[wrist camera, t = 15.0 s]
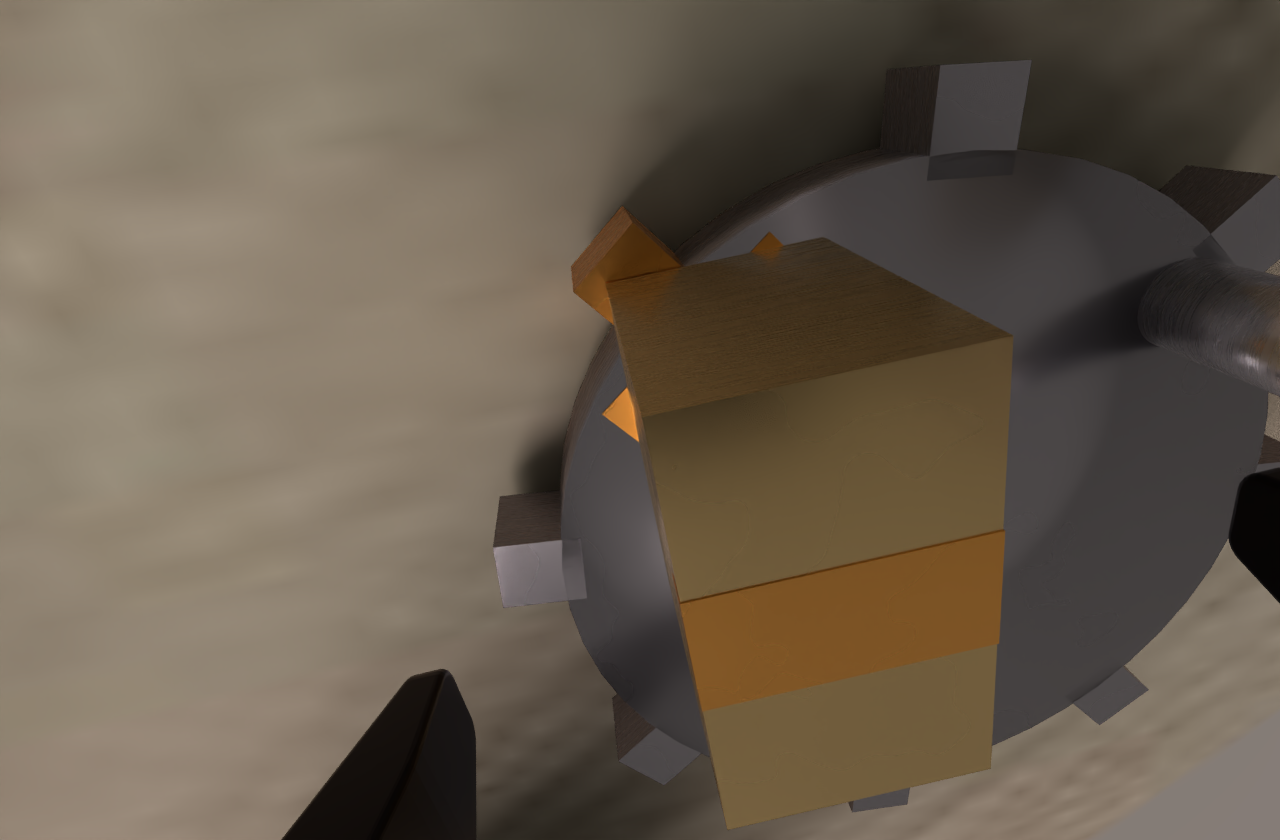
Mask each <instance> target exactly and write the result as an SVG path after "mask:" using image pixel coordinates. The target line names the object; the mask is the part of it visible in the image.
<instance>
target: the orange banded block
mask: <svg viewBox="0 0 1280 840" xmlns="http://www.w3.org/2000/svg"><path fill="white" fill-rule="evenodd" d="M605 285H606V289H607V294H608V299H609V304H610V308H611V313H612V318H613V322H614V327H615V332H616V336H617V341H618V346H619V351H620V355H621V360H622V365H623V369H624V374H625V379H626V383H627V388H628V393H629V397H630V402H631V407H632V412H633V416H634V421H635V426H636V430H637V435H638V440H639V444H640V449H641V454H642V458H643V463H644V468H645V473H646V477H647V482H648V487H649V491H650V496H651V501H652V505H653V510H654V515H655V519H656V524H657V529H658V534H659V538H660V543H661V548H662V552H663V557H664V562H665V566H666V571H667V576H668V581H669V585H670V589H671V594H672V598H673V602H674V606H675V610H676V615H677V619H678V623H679V627H680V632H681V636H682V640H683V644H684V649H685V653H686V657H687V661H688V665H689V670H690V674H691V678H692V682H693V687H694V691H695V695H696V699H697V703H698V708H699V712H700V716H701V720H702V725H703V729H704V733H705V737H706V742H707V746H708V750H709V754H710V758H711V763H712V767H713V771H714V775H715V780H716V784H717V788H718V792H719V797H720V801H721V805H722V809H723V813H724V818H725V822H726V826H727V830H730V829H734V828H738V827H743V826H747V825H751V824H756V823H760V822H764V821H768V820H773V819H777V818H781V817H786V816H790V815H794V814H798V813H803V812H807V811H811V810H816V809H820V808H824V807H828V806H833V805H837V804H841V803H846V802H850V801H854V800H859V799H863V798H867V797H871V796H876V795H880V794H884V793H889V792H893V791H897V790H901V789H906V788H910V787H914V786H919V785H923V784H927V783H931V782H936V781H940V780H944V779H949V778H953V777H957V776H962V775H966V774H970V773H974V772H979V771H983V770H987V769H991V753H992V734H993V715H994V696H995V677H996V658H997V644H999V637H1000V619H1001V600H1002V582H1003V564H1004V545H1005V530H1004V529H1003V525H1004V506H1005V487H1006V469H1007V450H1008V431H1009V412H1010V393H1011V374H1012V355H1013V335H1011V334H1010V333H1008V332H1006V331H1004V330H1002V329H1000V328H998V327H996V326H994V325H992V324H990V323H988V322H986V321H985V320H983V319H981V318H979V317H977V316H975V315H973V314H971V313H969V312H967V311H965V310H963V309H961V308H960V307H958V306H956V305H954V304H952V303H950V302H948V301H946V300H944V299H942V298H940V297H938V296H936V295H935V294H933V293H931V292H929V291H927V290H925V289H923V288H921V287H919V286H917V285H915V284H913V283H911V282H910V281H908V280H906V279H904V278H902V277H900V276H898V275H896V274H894V273H892V272H890V271H888V270H886V269H885V268H883V267H881V266H879V265H877V264H875V263H873V262H871V261H869V260H867V259H865V258H863V257H861V256H860V255H858V254H856V253H854V252H852V251H850V250H848V249H846V248H844V247H842V246H840V245H838V244H836V243H834V242H833V241H831V240H829V239H827V238H825V237H820V238H815V239H810V240H806V241H801V242H796V243H792V244H787V245H782V246H778V247H773V248H769V249H764V250H759V251H755V252H750V253H745V254H741V255H736V256H731V257H727V258H722V259H717V260H713V261H708V262H703V263H699V264H694V265H690V266H685V267H680V268H676V269H671V270H666V271H662V272H657V273H652V274H648V275H643V276H638V277H634V278H629V279H624V280H620V281H615V282H611V283H606V284H605Z"/></svg>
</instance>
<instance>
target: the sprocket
mask: <svg viewBox="0 0 1280 840" xmlns="http://www.w3.org/2000/svg"><path fill="white" fill-rule="evenodd" d="M1031 62H1032V60H1020V61H1002V62H985V63H968V64H950V65H935V66H923V67H911V68H898V69H887V73H886V84H885V95H884V106H883V118H882V129H881V140H880V148H879V149H872V150H866V151H863V152H859V153H856V154H852V155H848V156H845V157H841V158H838V159H834V160H831V161H827V162H824V163H820V164H817V165H815V166H812V167H810V168H808V169H805V170H803V171H801V172H798V173H796V174H794V175H791V176H789V177H787V178H784V179H782V180H780V181H777V182H775V183H773V184H770V185H768V186H767V187H765V188H763V189H762V190H760V191H758V192H757V193H755V194H753V195H751V196H750V197H748V198H746V199H745V200H743V201H741V202H740V203H738V204H736V205H735V206H733V207H731V208H729V209H728V210H726V211H724V212H723V213H722V214H720V215H719V216H718V217H716V218H715V219H714V220H713V221H711V222H710V223H709V224H707V225H706V226H705V227H704V228H702V229H701V230H700V231H698V232H697V233H696V234H694V235H693V236H692V237H691V238H689V239H688V240H687V241H685V242H684V243H683V244H682V245H681V246H680V247H679V248H678V249H677V250H676V251H675V252H672V251H671V250H670V249H669V248H668V247H667V246H666V245H665V244H664V243H663V242H661V241H660V240H659V239H658V238H657V237H656V236H655V235H654V234H653V233H652V232H650V231H649V230H648V229H647V228H646V227H645V226H644V225H643V224H642V223H641V222H639V221H638V220H637V219H636V218H635V217H634V216H633V215H632V214H631V213H630V212H629V211H627V210H626V209H625V208H624V207H623V206H622V207H621V208H620V209H619V210H618V211H617V213H616V214H615V215H614V216H613V217H612V218H611V220H610V221H609V222H608V223H607V224H606V226H605V227H604V228H603V229H602V230H601V232H600V233H599V234H598V235H597V236H596V237H595V239H594V240H593V241H592V242H591V243H590V245H589V246H588V247H587V248H586V249H585V251H584V252H583V253H582V254H581V255H580V256H579V258H578V259H577V260H576V261H575V262H574V264H573V265H572V266H571V272H572V282H573V292H574V293H575V294H577V295H578V296H579V297H580V298H581V299H583V300H584V301H585V302H586V303H588V304H589V305H590V306H591V307H592V308H594V309H595V310H596V311H597V312H598V313H600V314H601V315H602V316H603V317H605V318H606V319H607V320H608V321H609V322H611V323H612V324H613V325H612V326H611V328H610V330H609V332H608V333H607V335H606V337H605V338H604V340H603V342H602V344H601V345H600V347H599V349H598V350H597V352H596V354H595V356H594V357H593V359H592V361H591V363H590V366H589V368H588V371H587V373H586V375H585V378H584V380H583V383H582V385H581V387H580V390H579V392H578V395H577V397H576V399H575V402H574V406H573V410H572V414H571V418H570V422H569V425H568V429H567V433H566V437H565V441H564V449H563V458H562V467H561V476H560V490H558V491H548V492H539V493H529V494H519V495H510V496H500V500H499V507H498V514H497V522H496V529H495V537H494V544H493V550H494V556H495V562H496V568H497V573H498V579H499V585H500V591H501V596H502V602H503V608H507V607H516V606H524V605H533V604H542V603H550V602H559V601H569V605H570V610H571V612H572V615H573V617H574V620H575V623H576V625H577V628H578V630H579V633H580V636H581V638H582V641H583V643H584V645H585V647H586V648H587V650H588V652H589V654H590V655H591V657H592V659H593V660H594V662H595V664H596V665H597V667H598V669H599V671H600V672H601V674H602V675H603V676H604V678H605V679H606V680H607V681H608V682H609V684H610V685H611V686H612V687H613V688H614V690H615V691H616V692H617V694H616V695H615V696H614V697H613V698H612V701H613V711H614V721H615V732H616V742H617V752H618V761H619V762H621V763H623V764H625V765H627V766H628V767H630V768H632V769H634V770H636V771H638V772H640V773H642V774H644V775H646V776H647V777H649V778H651V779H653V780H655V781H657V782H659V783H661V784H663V785H665V784H666V783H668V782H669V781H670V780H671V779H672V778H673V777H675V776H676V775H677V774H678V773H679V772H680V771H682V770H683V769H684V768H685V767H686V766H687V765H689V764H690V763H691V762H692V761H693V760H694V759H696V758H697V757H698V756H699V755H700V754H701V753H702V754H704V755H706V756H708V757H710V754H709V750H708V746H707V742H706V737H705V733H704V729H703V725H702V720H701V716H700V712H699V708H698V703H697V699H696V695H695V691H694V687H693V682H692V678H691V674H690V670H689V665H688V661H687V657H686V653H685V649H684V644H683V640H682V636H681V632H680V627H679V623H678V619H677V615H676V610H675V606H674V602H673V598H672V594H671V589H670V585H669V581H668V576H667V571H666V566H665V562H664V557H663V552H662V548H661V543H660V538H659V534H658V529H657V524H656V519H655V515H654V510H653V505H652V501H651V496H650V491H649V487H648V482H647V477H646V473H645V468H644V463H643V458H642V454H641V449H640V444H639V440H638V435H637V430H636V426H635V421H634V416H633V412H632V407H631V402H630V397H629V393H628V388H627V383H626V379H625V374H624V369H623V365H622V360H621V355H620V351H619V346H618V341H617V336H616V332H615V327H614V322H613V318H612V313H611V308H610V304H609V299H608V294H607V289H606V285H605V284H606V283H611V282H615V281H620V280H624V279H629V278H634V277H638V276H643V275H648V274H652V273H657V272H662V271H666V270H671V269H676V268H680V267H685V266H690V265H694V264H699V263H703V262H708V261H713V260H717V259H722V258H727V257H731V256H736V255H741V254H745V253H750V252H755V251H759V250H764V249H769V248H773V247H778V246H782V245H787V244H792V243H796V242H801V241H806V240H810V239H815V238H820V237H825V238H827V239H829V240H831V241H833V242H834V243H836V244H838V245H840V246H842V247H844V248H846V249H848V250H850V251H852V252H854V253H856V254H858V255H860V256H861V257H863V258H865V259H867V260H869V261H871V262H873V263H875V264H877V265H879V266H881V267H883V268H885V269H886V270H888V271H890V272H892V273H894V274H896V275H898V276H900V277H902V278H904V279H906V280H908V281H910V282H911V283H913V284H915V285H917V286H919V287H921V288H923V289H925V290H927V291H929V292H931V293H933V294H935V295H936V296H938V297H940V298H942V299H944V300H946V301H948V302H950V303H952V304H954V305H956V306H958V307H960V308H961V309H963V310H965V311H967V312H969V313H971V314H973V315H975V316H977V317H979V318H981V319H983V320H985V321H986V322H988V323H990V324H992V325H994V326H996V327H998V328H1000V329H1002V330H1004V331H1006V332H1008V333H1010V334H1011V335H1013V355H1012V374H1011V393H1010V412H1009V431H1008V450H1007V469H1006V487H1005V506H1004V525H1003V529H1004V530H1005V545H1004V564H1003V582H1002V600H1001V619H1000V637H999V644H997V658H996V677H995V696H994V715H993V734H992V745H995V744H997V743H999V742H1002V741H1004V740H1006V739H1008V738H1010V737H1012V736H1015V735H1017V734H1019V733H1021V732H1023V731H1025V730H1027V729H1030V728H1032V727H1033V726H1035V725H1037V724H1039V723H1040V722H1042V721H1044V720H1046V719H1047V718H1049V717H1051V716H1053V715H1055V714H1056V713H1058V712H1060V711H1062V710H1063V709H1065V708H1067V707H1068V706H1070V705H1071V704H1074V705H1076V706H1077V707H1078V708H1079V709H1081V710H1082V711H1083V712H1084V713H1085V714H1087V715H1088V716H1089V717H1090V718H1091V719H1093V720H1094V721H1095V722H1096V723H1098V724H1099V725H1101V724H1102V723H1103V722H1105V721H1106V720H1107V719H1109V718H1110V717H1112V716H1113V715H1114V714H1116V713H1117V712H1119V711H1120V710H1121V709H1123V708H1124V707H1126V706H1127V705H1128V704H1130V703H1131V702H1132V701H1134V700H1135V699H1137V698H1138V697H1139V696H1141V695H1142V694H1144V693H1145V692H1146V691H1148V689H1147V688H1146V687H1145V686H1144V685H1143V684H1142V683H1141V682H1140V681H1139V680H1138V679H1137V678H1136V677H1135V676H1134V675H1133V674H1132V673H1131V672H1130V671H1129V670H1128V669H1127V668H1126V667H1125V666H1124V665H1125V664H1126V663H1128V662H1129V661H1130V660H1131V659H1132V658H1133V657H1134V656H1135V655H1136V654H1137V653H1139V652H1140V651H1141V650H1142V649H1143V648H1144V647H1145V646H1146V645H1147V644H1148V643H1149V642H1150V641H1151V640H1152V639H1153V638H1154V637H1155V636H1156V635H1157V634H1158V633H1159V632H1160V631H1161V630H1162V629H1163V628H1164V627H1165V626H1166V625H1167V623H1168V622H1169V621H1170V620H1171V619H1172V618H1173V617H1174V615H1175V614H1176V613H1177V612H1178V611H1179V610H1180V609H1181V607H1182V606H1183V605H1184V604H1185V603H1186V602H1187V600H1188V599H1189V598H1190V596H1191V595H1192V594H1193V592H1194V591H1195V589H1196V588H1197V587H1198V585H1199V584H1200V582H1201V581H1202V580H1203V578H1204V577H1205V576H1206V574H1207V573H1208V571H1209V570H1210V569H1211V567H1212V565H1213V564H1214V562H1215V560H1216V559H1217V557H1218V555H1219V553H1220V552H1221V550H1222V548H1223V546H1224V545H1225V543H1226V541H1227V540H1228V533H1229V527H1230V523H1231V518H1232V513H1233V508H1234V503H1235V498H1236V494H1237V489H1238V486H1239V483H1240V482H1241V481H1242V480H1243V478H1244V477H1246V476H1248V475H1250V474H1253V473H1257V472H1261V471H1265V470H1269V469H1273V468H1278V467H1280V442H1279V441H1277V440H1275V439H1273V438H1271V437H1269V436H1267V435H1265V434H1264V432H1265V427H1266V421H1267V413H1268V392H1270V393H1273V394H1275V395H1277V396H1280V276H1277V275H1273V274H1269V273H1265V271H1266V270H1267V269H1268V268H1269V267H1271V266H1272V265H1273V264H1274V263H1275V262H1276V261H1278V260H1279V259H1280V180H1279V178H1278V177H1277V175H1269V174H1260V173H1251V172H1242V171H1233V170H1223V169H1214V168H1205V167H1196V166H1187V165H1186V166H1185V167H1184V168H1183V169H1182V170H1181V171H1180V172H1179V173H1178V174H1177V175H1176V176H1174V177H1173V178H1172V179H1171V180H1170V181H1169V182H1168V183H1167V184H1166V185H1165V186H1164V187H1163V188H1162V189H1160V190H1159V191H1157V190H1155V189H1153V188H1152V187H1150V186H1148V185H1146V184H1144V183H1143V182H1141V181H1139V180H1137V179H1135V178H1134V177H1132V176H1130V175H1128V174H1125V173H1122V172H1119V171H1116V170H1113V169H1110V168H1107V167H1104V166H1101V165H1098V164H1095V163H1092V162H1090V161H1087V160H1084V159H1079V158H1073V157H1067V156H1061V155H1055V154H1049V153H1043V152H1036V151H1030V150H1022V149H1017V146H1018V140H1019V134H1020V128H1021V122H1022V116H1023V110H1024V104H1025V98H1026V92H1027V86H1028V80H1029V74H1030V68H1031ZM909 790H910V788H906V789H901V790H897V791H893V792H889V793H884V794H880V795H876V796H871V797H867V798H863V799H859V800H854V801H850V802H848V803H849V805H850V808H851V810H852V812H857V811H864V810H871V809H878V808H885V807H892V806H899V805H906V804H907V802H908V796H909Z"/></svg>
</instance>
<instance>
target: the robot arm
mask: <svg viewBox="0 0 1280 840" xmlns="http://www.w3.org/2000/svg"><path fill="white" fill-rule="evenodd" d="M1228 538H1229V543H1230V546H1231V549H1232V550H1233V552H1234V554H1235V555H1236V556H1237V558H1238V559H1239V560H1240V561H1241V562H1242V563H1243V564H1244V565H1245V566H1246V568H1247V569H1248V570H1249V571H1250V572H1251V573H1252V574H1253V575H1254V576H1255V577H1256V578H1257V579H1258V580H1259V582H1260V583H1261V584H1262V585H1263V586H1264V587H1265V588H1266V589H1267V590H1268V591H1269V592H1270V593H1271V595H1272V596H1273V597H1274V598H1275V599H1276V600H1277V601H1278V602H1279V603H1280V467H1278V468H1273V469H1269V470H1265V471H1261V472H1257V473H1253V474H1250V475H1248V476H1246V477H1244V478H1243V480H1242V481H1241V482H1240V483H1239V486H1238V489H1237V494H1236V498H1235V503H1234V508H1233V513H1232V518H1231V523H1230V527H1229V533H1228ZM281 840H476V737H475V730H474V725H473V721H472V718H471V716H470V713H469V711H468V709H467V707H466V705H465V702H464V700H463V698H462V696H461V693H460V691H459V689H458V687H457V684H456V682H455V680H454V678H453V676H452V675H451V673H450V672H449V671H448V670H445V669H438V670H434V671H430V672H426V673H422V674H417V675H414V676H412V677H410V678H409V679H408V680H407V681H406V682H405V683H404V684H403V685H402V686H401V688H400V689H399V690H398V692H397V693H396V694H395V695H394V697H393V698H392V699H391V700H390V702H389V703H388V704H387V706H386V707H385V708H384V709H383V711H382V712H381V713H380V715H379V716H378V717H377V718H376V720H375V721H374V722H373V723H372V725H371V726H370V727H369V729H368V730H367V731H366V732H365V734H364V735H363V736H362V737H361V739H360V740H359V741H358V743H357V744H356V745H355V746H354V748H353V749H352V750H351V752H350V753H349V754H348V755H347V757H346V758H345V759H344V760H343V762H342V763H341V764H340V766H339V767H338V768H337V769H336V771H335V772H334V773H333V774H332V776H331V777H330V778H329V780H328V781H327V782H326V783H325V785H324V786H323V787H322V788H321V790H320V791H319V792H318V794H317V795H316V796H315V797H314V799H313V800H312V801H311V803H310V804H309V805H308V806H307V808H306V809H305V810H304V811H303V813H302V814H301V815H300V817H299V818H298V819H297V820H296V822H295V823H294V824H293V825H292V827H291V828H290V829H289V831H288V832H287V833H286V834H285V836H284V837H283V838H282V839H281Z"/></svg>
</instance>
